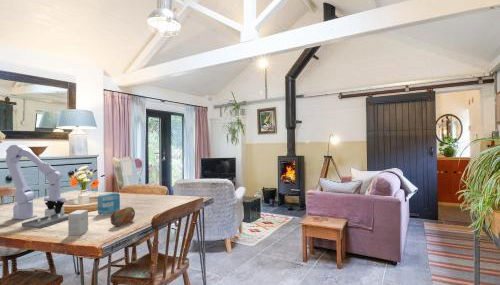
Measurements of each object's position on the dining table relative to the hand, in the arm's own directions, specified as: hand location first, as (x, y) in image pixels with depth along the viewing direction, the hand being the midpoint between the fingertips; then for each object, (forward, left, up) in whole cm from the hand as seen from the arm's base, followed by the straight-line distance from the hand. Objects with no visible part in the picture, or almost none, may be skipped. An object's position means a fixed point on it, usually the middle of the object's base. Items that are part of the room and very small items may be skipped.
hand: (54, 213), depth 167 cm
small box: (+42, -23, -2) cm, 48 cm away
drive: (0, 0, -2) cm, 2 cm away
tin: (+53, -5, -2) cm, 53 cm away
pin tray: (+9, -11, -2) cm, 14 cm away
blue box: (+28, +13, -2) cm, 31 cm away
